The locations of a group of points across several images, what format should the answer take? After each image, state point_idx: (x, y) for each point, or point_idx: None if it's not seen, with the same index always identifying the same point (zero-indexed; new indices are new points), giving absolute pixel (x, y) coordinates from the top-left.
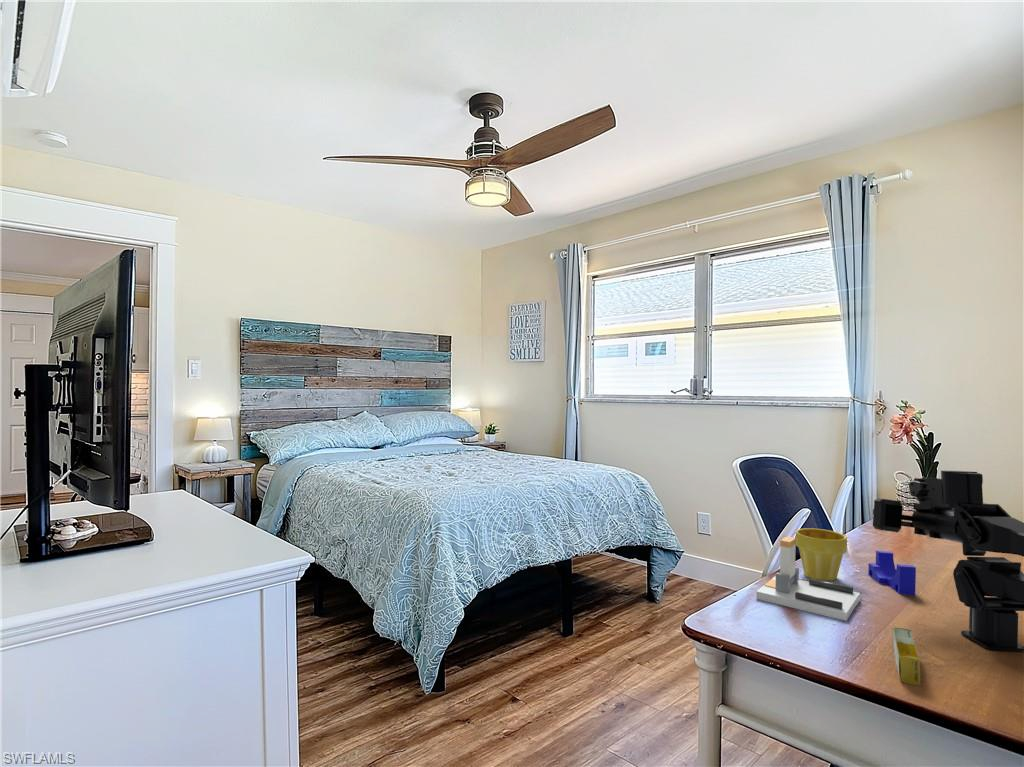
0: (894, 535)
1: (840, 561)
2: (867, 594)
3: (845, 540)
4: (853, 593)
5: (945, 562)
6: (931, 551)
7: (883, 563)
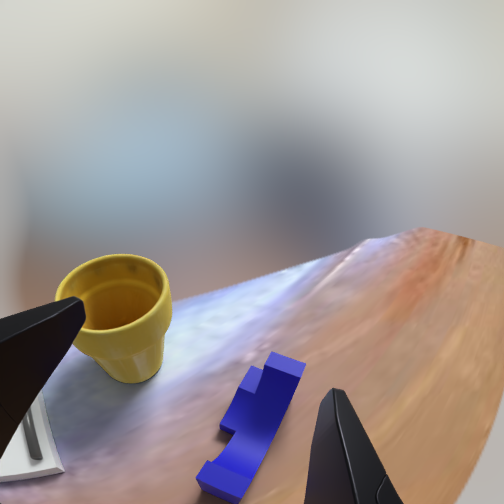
0: (425, 252)
1: (130, 365)
2: (116, 463)
3: (114, 335)
4: (41, 460)
5: (447, 335)
6: (446, 297)
7: (267, 388)
